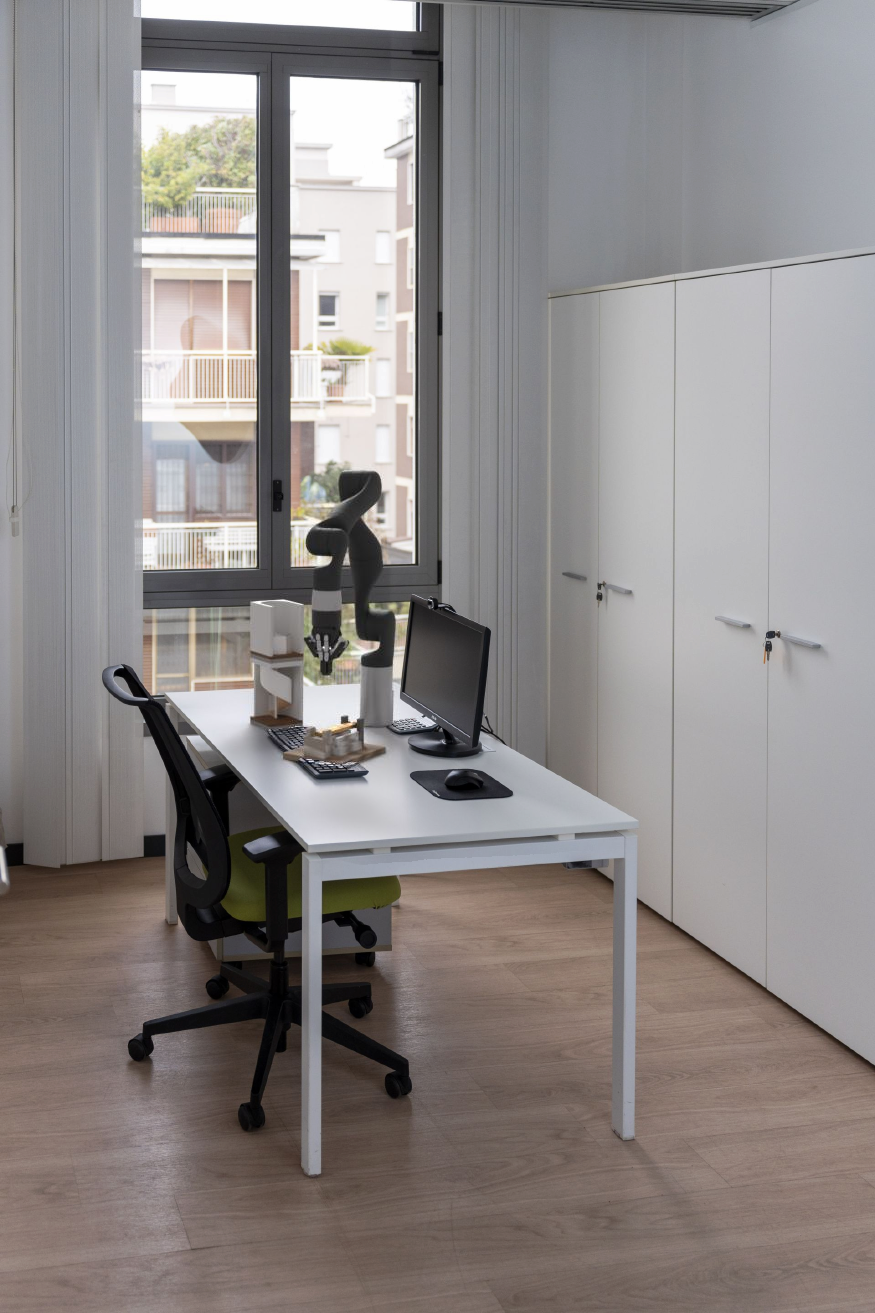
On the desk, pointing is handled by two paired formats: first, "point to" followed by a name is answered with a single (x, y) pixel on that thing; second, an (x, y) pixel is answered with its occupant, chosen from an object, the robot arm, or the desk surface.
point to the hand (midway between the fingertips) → (326, 674)
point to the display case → (277, 663)
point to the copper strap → (339, 728)
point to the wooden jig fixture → (336, 746)
